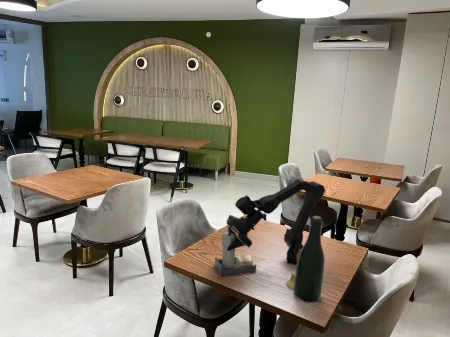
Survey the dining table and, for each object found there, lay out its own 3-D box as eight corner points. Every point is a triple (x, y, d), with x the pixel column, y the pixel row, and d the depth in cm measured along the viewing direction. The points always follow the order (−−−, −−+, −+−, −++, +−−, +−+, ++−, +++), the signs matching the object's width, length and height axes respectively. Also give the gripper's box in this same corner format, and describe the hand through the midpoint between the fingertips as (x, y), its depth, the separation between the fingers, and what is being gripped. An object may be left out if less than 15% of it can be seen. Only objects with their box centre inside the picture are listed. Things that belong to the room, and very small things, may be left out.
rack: (248, 261, 155) (248, 253, 154) (255, 272, 147) (256, 263, 146) (214, 265, 150) (215, 257, 149) (220, 276, 142) (221, 268, 141)
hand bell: (302, 279, 142) (305, 244, 139) (309, 290, 134) (313, 254, 131) (283, 280, 141) (286, 245, 138) (289, 291, 133) (293, 254, 130)
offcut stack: (247, 263, 154) (248, 254, 153) (253, 270, 148) (254, 260, 147) (235, 265, 152) (235, 255, 151) (240, 272, 146) (240, 262, 145)
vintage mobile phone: (225, 266, 150) (227, 213, 145) (234, 270, 147) (236, 216, 142) (220, 269, 147) (222, 215, 142) (228, 273, 144) (231, 218, 139)
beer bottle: (301, 283, 138) (311, 209, 130) (325, 295, 131) (336, 217, 123) (288, 294, 130) (297, 216, 122) (312, 307, 124) (324, 225, 116)
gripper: (231, 202, 151) (207, 227, 150) (246, 217, 134) (219, 245, 133) (246, 217, 155) (223, 242, 154) (263, 234, 138) (236, 261, 137)
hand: (225, 246), depth 144 cm, fingers closed on vintage mobile phone, 6 cm apart
